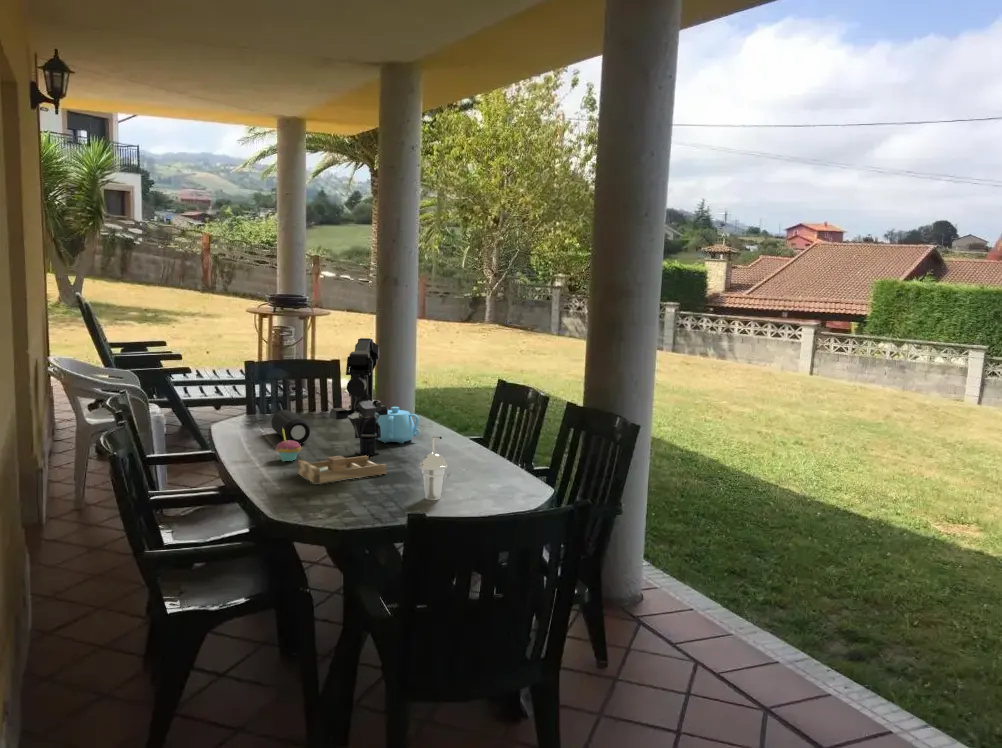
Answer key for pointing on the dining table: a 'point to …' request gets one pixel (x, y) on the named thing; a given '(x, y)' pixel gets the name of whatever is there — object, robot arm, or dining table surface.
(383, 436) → the decorative pot
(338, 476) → the board
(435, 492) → the cup with straw
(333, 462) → the walnut block
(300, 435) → the portable speaker
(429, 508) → the dining table surface
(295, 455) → the cupcake
